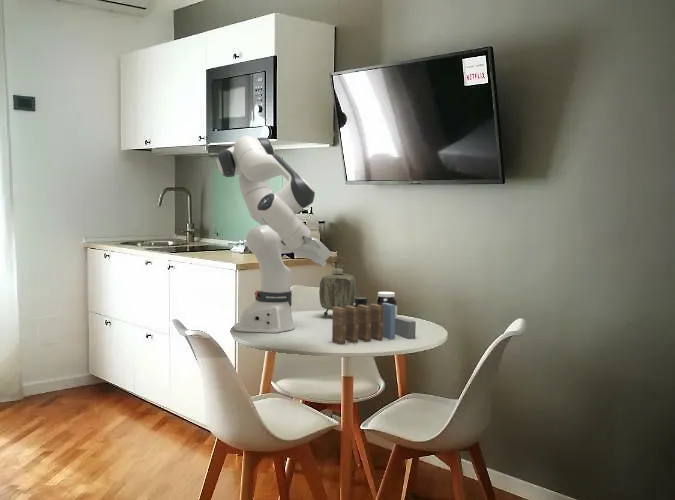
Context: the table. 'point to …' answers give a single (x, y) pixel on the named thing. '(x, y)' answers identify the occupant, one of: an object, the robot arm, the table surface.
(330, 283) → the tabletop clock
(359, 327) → the domino
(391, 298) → the spread jar
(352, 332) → the domino
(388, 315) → the domino
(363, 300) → the supplement bottle
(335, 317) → the domino
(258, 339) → the table surface
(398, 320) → the end stop
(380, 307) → the domino
